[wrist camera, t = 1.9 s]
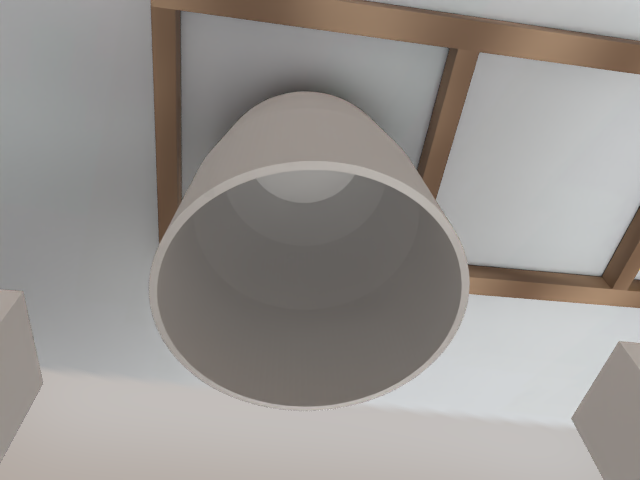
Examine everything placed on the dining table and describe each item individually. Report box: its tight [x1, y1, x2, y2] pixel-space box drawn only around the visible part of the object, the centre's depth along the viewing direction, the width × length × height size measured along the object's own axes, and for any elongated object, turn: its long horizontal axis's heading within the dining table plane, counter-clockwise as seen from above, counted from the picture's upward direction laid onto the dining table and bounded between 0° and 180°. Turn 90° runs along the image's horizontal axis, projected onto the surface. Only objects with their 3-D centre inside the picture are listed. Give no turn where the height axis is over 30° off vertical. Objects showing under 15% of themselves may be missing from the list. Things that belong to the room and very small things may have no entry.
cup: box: [149, 91, 470, 411], centre depth 17 cm, size 8×8×10 cm
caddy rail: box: [151, 0, 640, 308], centre depth 22 cm, size 33×12×1 cm, turn 82°
